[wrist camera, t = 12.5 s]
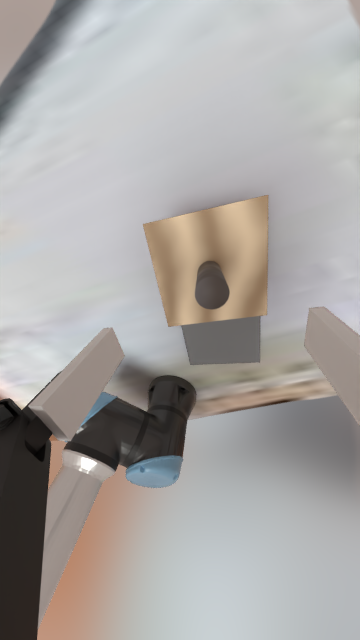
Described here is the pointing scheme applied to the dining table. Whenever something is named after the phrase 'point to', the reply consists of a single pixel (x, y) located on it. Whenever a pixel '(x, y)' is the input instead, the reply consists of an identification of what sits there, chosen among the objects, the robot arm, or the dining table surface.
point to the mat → (223, 341)
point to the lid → (212, 262)
